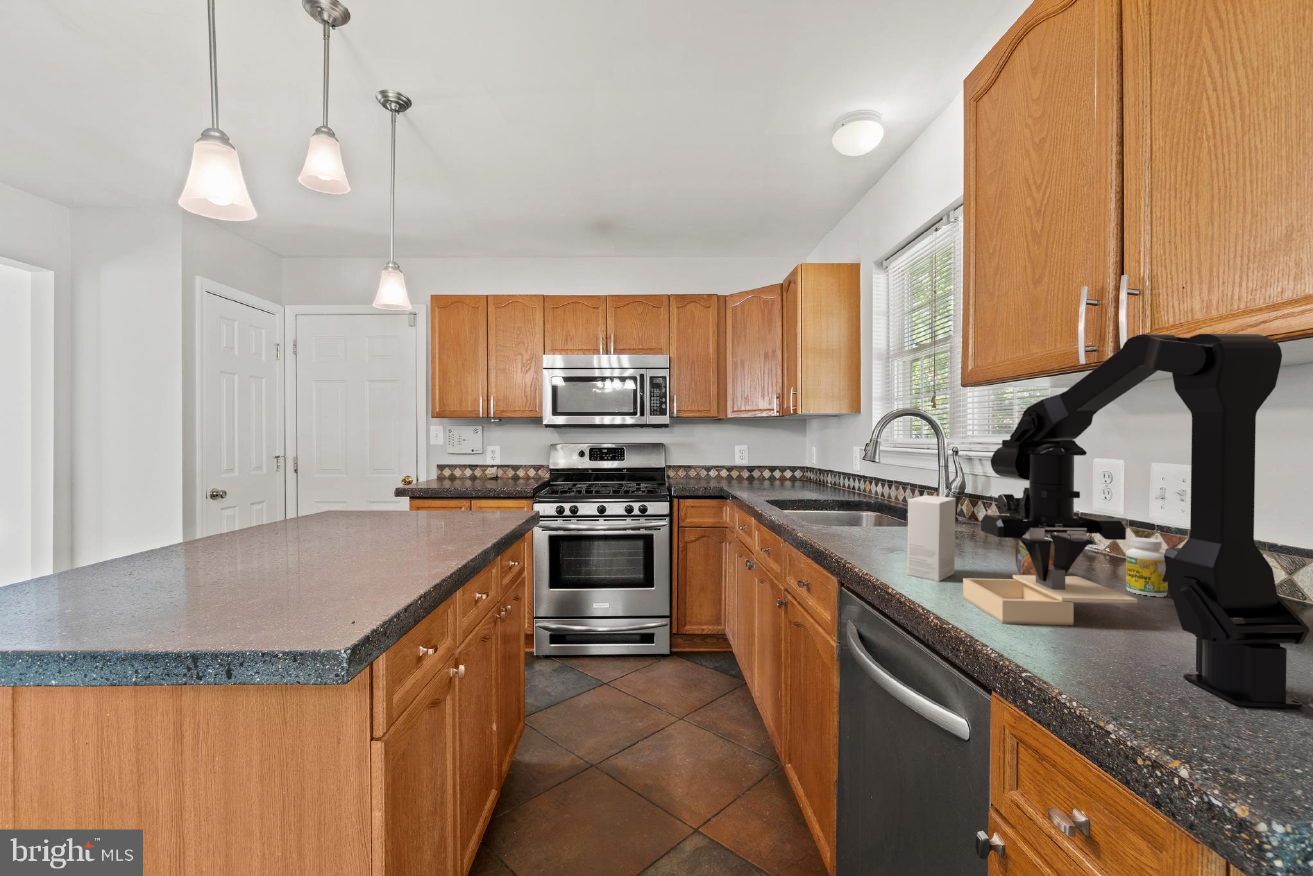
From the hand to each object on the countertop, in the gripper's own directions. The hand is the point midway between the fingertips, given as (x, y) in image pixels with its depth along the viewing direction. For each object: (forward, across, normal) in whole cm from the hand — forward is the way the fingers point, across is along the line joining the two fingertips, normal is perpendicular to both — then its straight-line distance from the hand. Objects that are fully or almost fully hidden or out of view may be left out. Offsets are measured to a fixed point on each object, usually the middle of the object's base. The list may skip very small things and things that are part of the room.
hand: (1050, 580), depth 84 cm
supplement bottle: (+5, -24, -12) cm, 27 cm away
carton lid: (+1, -3, 0) cm, 3 cm away
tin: (+5, -10, -20) cm, 23 cm away
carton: (+5, +5, 0) cm, 7 cm away
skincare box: (+5, +9, -21) cm, 24 cm away
